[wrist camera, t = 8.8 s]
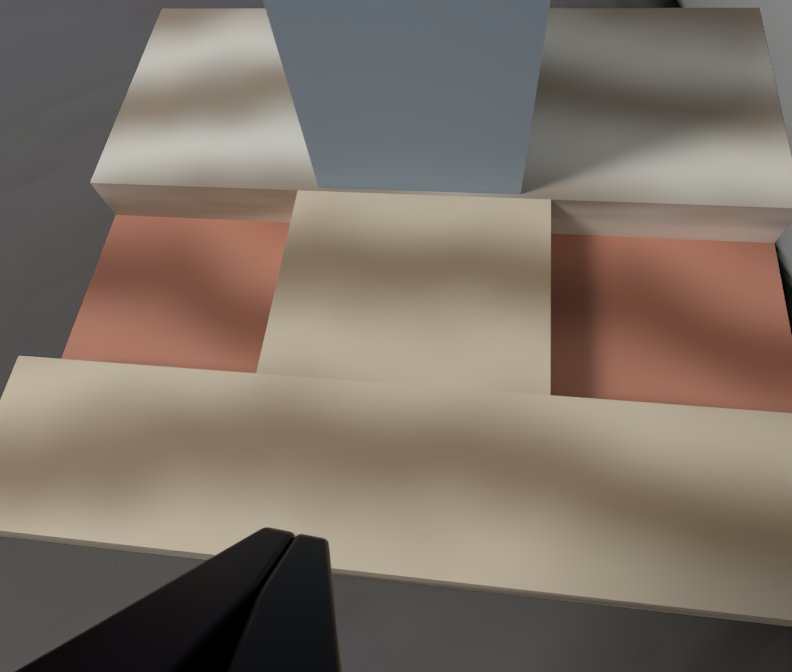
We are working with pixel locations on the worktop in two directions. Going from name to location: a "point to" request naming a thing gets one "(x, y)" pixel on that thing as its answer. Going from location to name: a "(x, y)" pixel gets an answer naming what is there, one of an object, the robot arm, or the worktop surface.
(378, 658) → the worktop surface
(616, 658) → the worktop surface
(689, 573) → the trap board
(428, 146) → the slate block
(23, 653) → the worktop surface
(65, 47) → the worktop surface
